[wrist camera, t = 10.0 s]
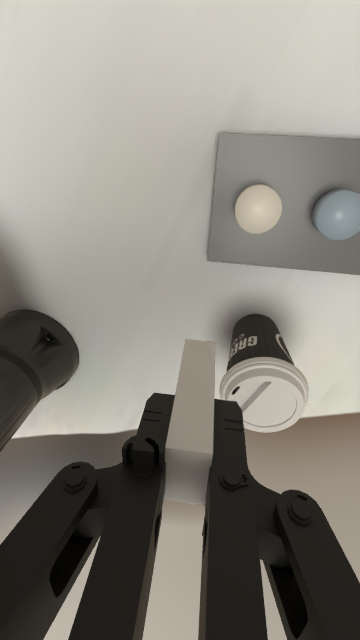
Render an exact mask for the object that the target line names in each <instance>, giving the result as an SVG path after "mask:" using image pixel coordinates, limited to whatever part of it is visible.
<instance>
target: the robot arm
mask: <svg viewBox="0 0 360 640" xmlns="http://www.w3.org/2000/svg"><path fill="white" fill-rule="evenodd" d="M215 344H216V342H210V341H200V340H190V339H186V341H185V346H184V352H183V357H182V362H181V367H180V373H179V378H178V383H177V388H176V394H175V395H169V394H160V393H153V395H152V396H151V397H150V398H149V399H148V400H147V402H146V405H145V408H144V412H143V415H142V418H141V421H140V425H139V428H138V431H137V435H136V436H133V437H131V438H130V439H129V440H127V441H126V442H125V444H124V445H123V447H122V457H123V462H122V463H120V464H118V465H116V466H112V467H109V468H103V469H97V470H95V468H94V467H93V466H92V465H90V464H89V463H85V462H76V463H72V464H70V465H68V466H66V467H64V468H63V469H62V470H61V471H60V472H59V473H58V474H57V475H56V476H55V477H54V479H53V480H52V481H51V483H50V484H49V485H48V486H47V487H46V489H45V490H44V491H43V492H42V494H41V495H40V496H39V497H38V499H37V500H36V501H35V502H34V504H33V505H32V506H31V507H30V509H29V510H28V511H27V512H26V514H25V515H24V516H23V517H22V519H21V520H20V521H19V522H18V524H17V525H16V526H15V527H14V529H13V530H12V531H11V532H10V533H9V535H8V536H7V537H6V539H5V540H4V541H3V542H2V543H1V545H0V640H43V639H44V637H45V635H46V633H47V631H48V630H49V628H50V626H51V624H52V622H53V621H54V619H55V617H56V615H57V613H58V612H59V610H60V608H61V606H62V604H63V603H64V601H65V599H66V597H67V595H68V593H69V592H70V590H71V588H72V586H73V584H74V583H75V581H76V579H77V577H78V575H79V574H80V572H81V570H82V568H83V566H84V564H85V563H86V561H87V559H88V557H89V555H90V554H91V552H92V549H93V548H94V546H95V545H96V543H97V541H98V539H99V537H100V536H101V537H100V540H99V543H98V547H97V550H96V553H95V556H94V559H93V563H92V566H91V569H90V572H89V575H88V578H87V582H86V585H85V588H84V591H83V595H82V598H81V601H80V604H79V607H78V610H77V613H76V617H75V620H74V623H73V626H72V629H71V633H70V636H69V639H68V640H142V637H143V631H144V625H145V618H146V612H147V606H148V600H149V593H150V587H151V581H152V575H153V568H154V562H155V555H156V550H157V543H158V537H159V530H160V525H161V518H162V505H163V499H164V500H170V501H177V502H184V503H190V504H197V505H204V506H205V518H204V525H203V532H202V536H203V551H202V572H201V593H200V614H199V637H198V640H268V638H267V627H266V617H265V607H264V597H263V586H262V576H261V566H260V559H261V560H263V562H264V565H265V569H266V572H267V575H268V578H269V582H270V585H271V588H272V591H273V594H274V597H275V601H276V604H277V608H278V611H279V614H280V617H281V621H282V624H283V627H284V630H285V634H286V637H287V640H360V583H359V581H358V579H357V577H356V575H355V573H354V571H353V569H352V567H351V565H350V563H349V561H348V560H347V558H346V556H345V554H344V552H343V550H342V548H341V546H340V544H339V542H338V540H337V538H336V536H335V535H334V533H333V531H332V529H331V527H330V525H329V523H328V521H327V519H326V517H325V515H324V513H323V511H322V509H321V508H320V507H319V505H318V504H317V502H316V501H315V500H313V498H311V497H310V496H309V495H308V494H306V493H303V492H301V491H299V490H288V491H285V492H283V493H282V494H279V493H277V492H275V491H272V490H270V489H268V488H266V487H264V486H263V485H261V484H260V483H258V482H257V481H256V480H255V479H254V478H253V476H252V475H251V474H250V471H249V469H248V466H247V457H246V446H245V435H244V424H243V412H242V410H241V408H240V406H239V405H238V403H237V401H228V400H219V399H214V386H215ZM78 363H79V354H78V350H77V347H76V344H75V342H74V340H73V339H72V337H71V336H70V334H69V333H68V332H67V331H66V329H65V328H64V327H62V326H61V325H60V324H59V323H58V322H56V321H55V320H53V319H52V318H50V317H48V316H46V315H44V314H41V313H39V312H35V311H30V310H18V311H13V312H11V313H8V314H7V315H5V316H4V317H2V318H1V319H0V452H1V451H2V449H3V448H4V447H5V445H6V444H7V443H8V441H9V440H10V439H11V438H12V436H13V435H14V434H15V432H16V431H17V430H18V428H19V427H20V426H21V424H22V423H23V422H24V421H25V419H26V418H27V417H28V415H29V414H30V413H31V411H32V410H33V409H34V407H35V406H36V405H37V404H38V402H39V401H40V400H41V399H43V398H44V397H46V396H47V395H49V394H50V393H51V392H52V391H54V390H56V389H59V388H60V387H62V386H64V385H65V384H66V383H67V382H68V381H69V380H70V378H71V377H72V376H73V374H74V373H75V371H76V370H77V367H78Z"/></svg>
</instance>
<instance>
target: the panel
mask: <svg viewBox="0 0 360 640" xmlns="http://www.w3.org/2000/svg"><path fill="white" fill-rule="evenodd" d="M254 184H264V185H267V186H269V187H270V188H272V189H273V190H274V191H275V192H276V193H277V194H278V195H279V197H280V199H281V202H282V212H281V216H280V218H279V220H278V222H277V223H276V224H275V226H274V227H272V228H271V229H270V230H268V231H266V232H264V233H259V234H254V233H249V232H247V231H245V230H244V229H242V228H241V227H240V226H239V224H238V222H237V220H236V216H235V203H236V200H237V198H238V196H239V194H240V193H241V192H242V191H243V190H244V189H245V188H247V187H249V186H251V185H254ZM336 189H345V190H349V191H352V192H356V193H358V194H360V139H345V138H323V137H301V136H279V135H258V134H236V133H219V140H218V151H217V161H216V172H215V183H214V193H213V204H212V215H211V225H210V236H209V247H208V257H207V261H213V262H224V263H235V264H246V265H257V266H268V267H279V268H289V269H300V270H311V271H322V272H333V273H344V274H355V275H360V231H359V232H358V233H356V234H355V235H353V236H352V237H350V238H347V239H344V240H332V239H329V238H327V237H325V236H324V235H323V234H322V233H320V232H319V231H318V230H317V229H316V228H315V226H314V224H313V221H312V213H313V209H314V207H315V205H316V203H317V202H318V200H319V199H320V198H321V197H322V195H325V194H326V193H328V192H330V191H332V190H336Z"/></svg>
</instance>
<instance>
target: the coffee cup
mask: <svg viewBox="0 0 360 640" xmlns="http://www.w3.org/2000/svg"><path fill="white" fill-rule="evenodd" d="M308 392H309V389H308V383H307V380H306V378H305V377H304V375H303V374H302V372H301V371H300V370H299V369H298V368H296V367H295V365H294V363H293V361H292V359H291V357H290V355H289V352H288V350H287V348H286V346H285V344H284V342H283V339H282V337H281V335H280V333H279V331H278V328H277V326H276V324H275V323H274V322H273V321H272V320H271V319H270V318H268V317H266V316H264V315H259V314H253V315H248V316H245V317H243V318H242V319H240V320H239V321H238V322H237V323H236V325H235V327H234V330H233V335H232V341H231V348H230V354H229V360H228V366H227V372H226V374H225V375H224V377H223V378H222V381H221V384H220V397H221V400H228V401H237V403H238V405H239V406H240V408H241V410H242V412H243V424H244V428H247V429H249V430H252V431H257V432H276V431H280V430H283V429H286V428H287V427H290V426H291V425H293V424H294V423H295V422H296V421H297V420H298V419H299V418H300V417H301V415H302V413H303V410H304V408H305V406H306V403H307V400H308Z"/></svg>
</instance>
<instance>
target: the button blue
mask: <svg viewBox="0 0 360 640" xmlns="http://www.w3.org/2000/svg"><path fill="white" fill-rule="evenodd" d="M312 221H313V224H314V226H315V228H316V229H317V230H318V231H319V232H320V233H322V234H323V235H324V236H325V237H327V238H329V239H332V240H344V239H347V238H350V237H352V236H353V235H355V234H356V233H358V232H359V231H360V194H358V193H356V192H352V191H349V190H345V189H336V190H332V191H330V192H328V193H326V194H325V195H323V196H322V197H321V198H320V199H319V200H318V202H317V203H316V205H315V207H314V209H313V213H312Z"/></svg>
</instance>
